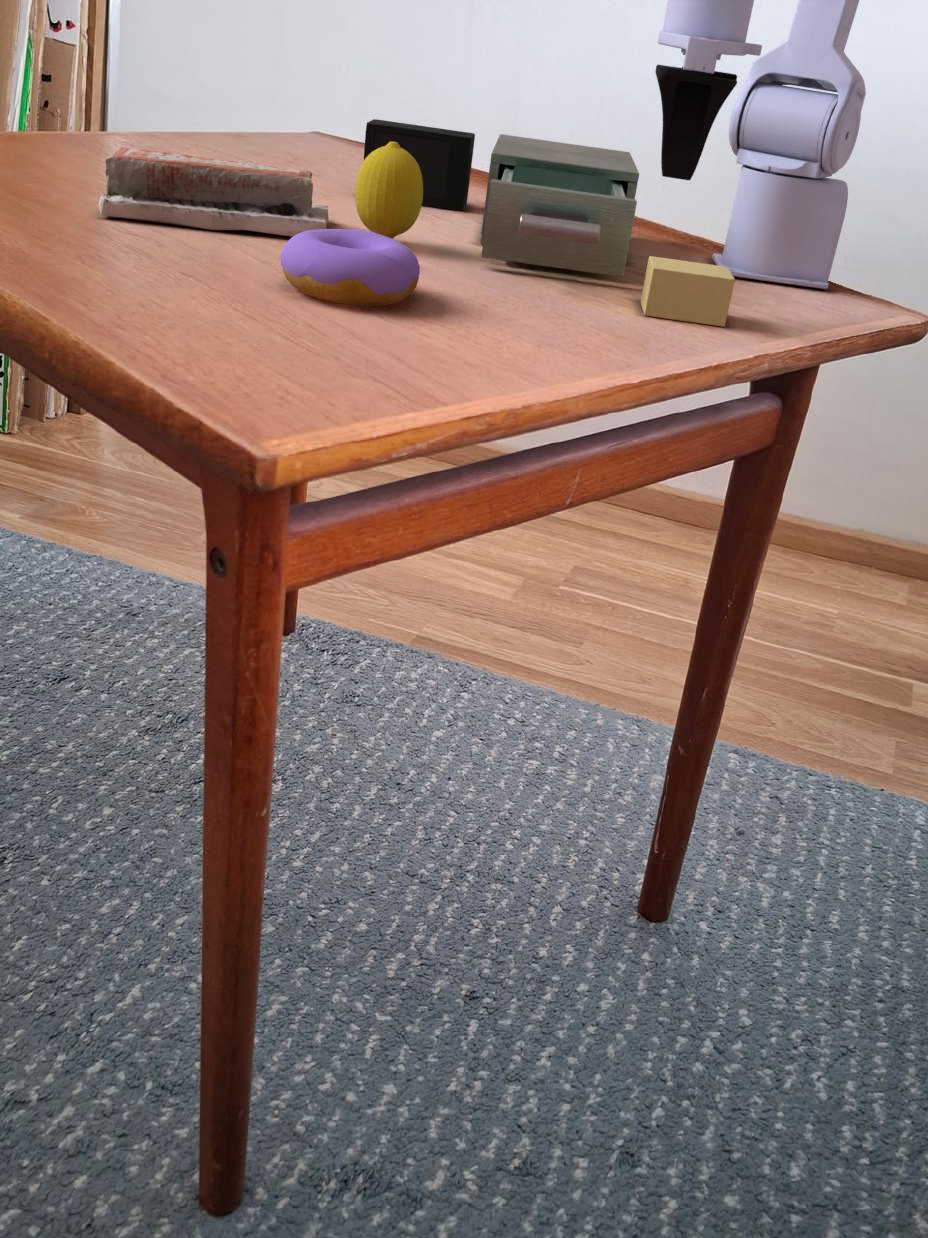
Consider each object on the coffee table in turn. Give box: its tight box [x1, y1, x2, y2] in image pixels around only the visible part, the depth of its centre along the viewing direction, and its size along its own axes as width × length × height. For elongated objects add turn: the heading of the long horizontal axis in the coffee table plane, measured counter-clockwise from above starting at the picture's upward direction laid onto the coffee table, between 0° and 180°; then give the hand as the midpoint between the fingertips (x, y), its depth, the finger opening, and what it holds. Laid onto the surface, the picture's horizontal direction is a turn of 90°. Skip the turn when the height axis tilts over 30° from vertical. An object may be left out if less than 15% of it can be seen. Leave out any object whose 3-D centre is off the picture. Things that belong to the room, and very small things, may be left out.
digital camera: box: [363, 118, 476, 212], centre depth 119 cm, size 10×5×7 cm, turn 84°
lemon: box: [354, 142, 423, 239], centre depth 98 cm, size 6×6×8 cm
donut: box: [280, 228, 421, 306], centre depth 82 cm, size 10×9×5 cm
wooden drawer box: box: [479, 133, 640, 246], centre depth 109 cm, size 16×13×8 cm
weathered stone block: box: [97, 146, 329, 238], centre depth 99 cm, size 18×5×10 cm
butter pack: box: [640, 255, 736, 328], centre depth 89 cm, size 6×4×4 cm
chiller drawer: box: [480, 165, 638, 278], centre depth 98 cm, size 19×11×6 cm, turn 176°
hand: (676, 177), depth 86 cm, fingers closed
